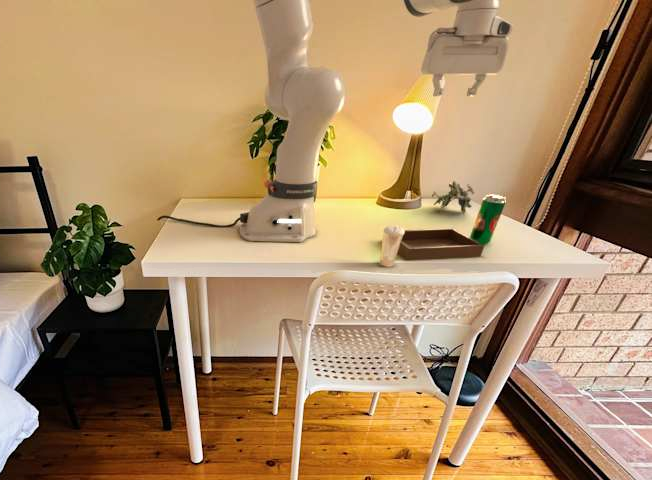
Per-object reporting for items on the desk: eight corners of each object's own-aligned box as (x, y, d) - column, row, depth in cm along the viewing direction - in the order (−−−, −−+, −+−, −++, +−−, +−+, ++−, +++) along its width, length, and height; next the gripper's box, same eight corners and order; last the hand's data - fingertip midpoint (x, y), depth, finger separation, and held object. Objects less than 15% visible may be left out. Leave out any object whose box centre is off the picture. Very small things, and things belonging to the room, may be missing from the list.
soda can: (464, 238, 103) (480, 194, 97) (483, 239, 103) (500, 194, 96) (473, 245, 99) (491, 198, 92) (493, 245, 99) (511, 199, 92)
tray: (406, 260, 91) (409, 249, 89) (382, 241, 102) (385, 231, 101) (480, 256, 93) (485, 245, 91) (449, 238, 104) (452, 228, 102)
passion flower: (456, 228, 128) (483, 204, 117) (427, 222, 127) (451, 198, 116) (452, 202, 132) (478, 177, 121) (424, 196, 131) (447, 170, 120)
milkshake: (375, 267, 87) (384, 225, 82) (376, 259, 92) (386, 218, 86) (395, 270, 86) (406, 227, 80) (396, 262, 90) (406, 220, 84)
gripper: (439, 25, 86) (422, 96, 94) (520, 26, 88) (497, 96, 96) (425, 29, 91) (410, 96, 99) (502, 29, 93) (481, 95, 101)
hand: (453, 96), depth 97 cm, fingers open, 8 cm apart
